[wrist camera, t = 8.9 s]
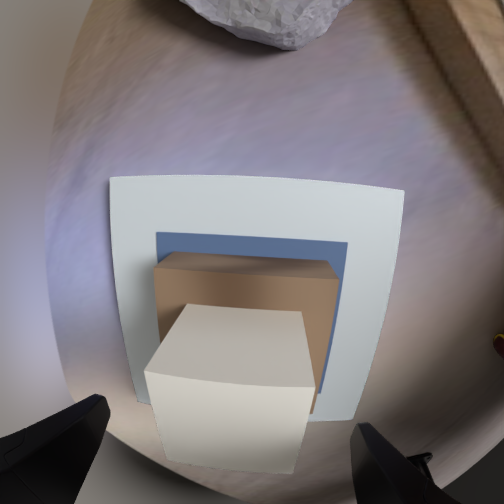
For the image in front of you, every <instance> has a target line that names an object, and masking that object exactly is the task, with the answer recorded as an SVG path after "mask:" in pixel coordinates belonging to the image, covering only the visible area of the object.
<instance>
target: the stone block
mask: <svg viewBox="0 0 504 504" xmlns="http://www.w3.org/2000/svg"><path fill="white" fill-rule="evenodd" d="M179 1H181V2H183V3H185V4H187V5H188V6H189V7H190V8H192V9H193V10H194V11H195V12H196V13H198V14H199V15H201V16H203V17H204V18H205V19H207V20H208V21H210V22H211V23H213V24H215V25H218V26H221V27H223V28H225V29H226V30H227V31H229V32H231V33H233V34H234V35H236V36H237V37H238V38H241V39H248V40H252V41H257V42H259V43H263V44H267V45H271V46H275V47H278V48H280V49H282V50H298V49H300V48H302V47H304V46H305V45H306V44H307V43H309V42H311V41H312V40H314V39H316V38H318V37H320V36H321V35H322V34H324V33H326V32H327V29H328V28H329V26H330V24H331V23H332V22H333V20H335V19H336V16H337V13H338V12H339V11H340V10H341V9H342V8H344V7H346V6H347V5H348V4H350V3H351V2H352V1H353V0H179Z"/></svg>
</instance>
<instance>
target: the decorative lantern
mask: <svg viewBox="0 0 504 504" xmlns="http://www.w3.org/2000/svg"><path fill="white" fill-rule="evenodd" d="M493 345H494V348H495V350H496V351H497V352H498V354H499V355H500V356H501V357H502V358H503V359H504V335H503V334H498V335H496V336H495V338H494V340H493Z"/></svg>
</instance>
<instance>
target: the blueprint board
mask: <svg viewBox="0 0 504 504" xmlns="http://www.w3.org/2000/svg"><path fill="white" fill-rule="evenodd" d="M403 202H404V191H403V190H396V189H389V188H382V187H374V186H366V185H358V184H349V183H339V182H329V181H318V180H306V179H292V178H277V177H258V176H230V175H152V176H125V177H110V223H111V242H112V255H113V267H114V277H115V286H116V294H117V301H118V308H119V315H120V321H121V327H122V333H123V338H124V344H125V349H126V354H127V359H128V363H129V368H130V372H131V377H132V381H133V385H134V389H135V393H136V396H137V400H138V402H141V403H145V404H150V405H151V401H150V396H149V392H148V388H147V383H146V379H145V374H144V370H145V368H146V366H147V365H148V363H149V362H150V360H151V359H152V357H153V355H154V354H155V352H156V351H157V349H158V348H159V346H160V345H161V343H162V341H163V340H164V338H165V337H166V335H167V334H168V332H169V331H170V329H171V328H172V326H173V325H174V323H175V321H176V320H177V318H178V317H179V315H180V314H181V312H182V311H183V309H184V308H185V306H186V305H187V304H196V305H207V306H219V307H232V308H245V309H261V310H279V311H301V312H302V317H303V322H304V327H305V333H306V338H307V343H308V348H309V354H310V359H311V365H312V370H313V376H314V382H315V387H316V388H315V392H314V396H313V401H312V405H311V409H310V413H309V417H308V421H340V420H352V419H353V417H354V414H355V412H356V409H357V406H358V404H359V401H360V398H361V395H362V392H363V390H364V387H365V384H366V381H367V378H368V375H369V371H370V368H371V365H372V362H373V358H374V355H375V352H376V348H377V344H378V341H379V337H380V333H381V330H382V326H383V322H384V317H385V313H386V309H387V304H388V300H389V295H390V290H391V285H392V280H393V275H394V269H395V264H396V258H397V251H398V244H399V237H400V230H401V221H402V212H403ZM308 421H307V422H308Z"/></svg>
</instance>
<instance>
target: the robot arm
mask: <svg viewBox="0 0 504 504" xmlns="http://www.w3.org/2000/svg"><path fill="white" fill-rule="evenodd" d="M109 418H110V409H109V406H108V403H107V400H106V398H105V397H104V396H102V395H99V394H93V395H91V396H89V397H87V398H85V399H83V400H82V401H80V402H78V403H76V404H74V405H72V406H70V407H68V408H66V409H64V410H62V411H60V412H58V413H56V414H54V415H52V416H50V417H47V418H45V419H43V420H41V421H39V422H37V423H35V424H33V425H31V426H29V427H27V428H24V429H22V430H20V431H17V432H15V433H13V434H10V435H8V436H5V437H2V438H0V504H74V503H75V500H76V498H77V496H78V493H79V491H80V489H81V487H82V484H83V482H84V480H85V478H86V475H87V473H88V471H89V469H90V467H91V464H92V462H93V460H94V458H95V456H96V454H97V452H98V449H99V447H100V445H101V442H102V439H103V436H104V432H105V430H106V427H107V424H108V421H109ZM350 448H351V463H352V477H353V483H354V488H355V494H356V499H357V504H462V503H460V502H458V501H457V500H455V499H454V498H452V497H451V496H449V495H448V494H447V493H445V492H444V491H442V490H441V489H440V488H439V487H438V486H437V485H435V483H434V481H433V478H432V476H431V473H430V471H429V468H428V466H427V463H428V462H429V461H430V459H431V458H432V457H433V455H432V453H428V454H424V455H420V456H416V457H412V458H406V457H404V456H403V455H402V454H401V453H400V452H399V451H398V450H397V449H396V448H395V447H394V446H393V445H392V444H391V443H390V442H389V441H387V440H386V439H385V438H384V437H383V436H382V435H381V434H380V433H379V432H378V431H377V430H376V429H375V428H374V427H373V426H372V425H371V424H370V423H368V422H362V423H357V424H356V426H355V428H354V431H353V433H352V435H351V438H350Z"/></svg>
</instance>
